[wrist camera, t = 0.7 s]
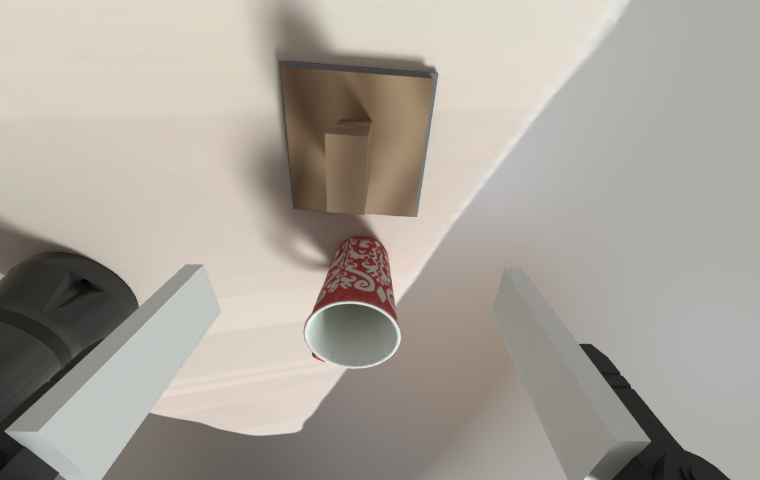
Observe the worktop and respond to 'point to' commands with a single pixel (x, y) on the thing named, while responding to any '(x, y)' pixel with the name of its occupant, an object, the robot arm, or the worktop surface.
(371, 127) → the wooden base stand
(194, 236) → the worktop surface
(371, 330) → the mug
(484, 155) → the worktop surface
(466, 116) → the worktop surface
